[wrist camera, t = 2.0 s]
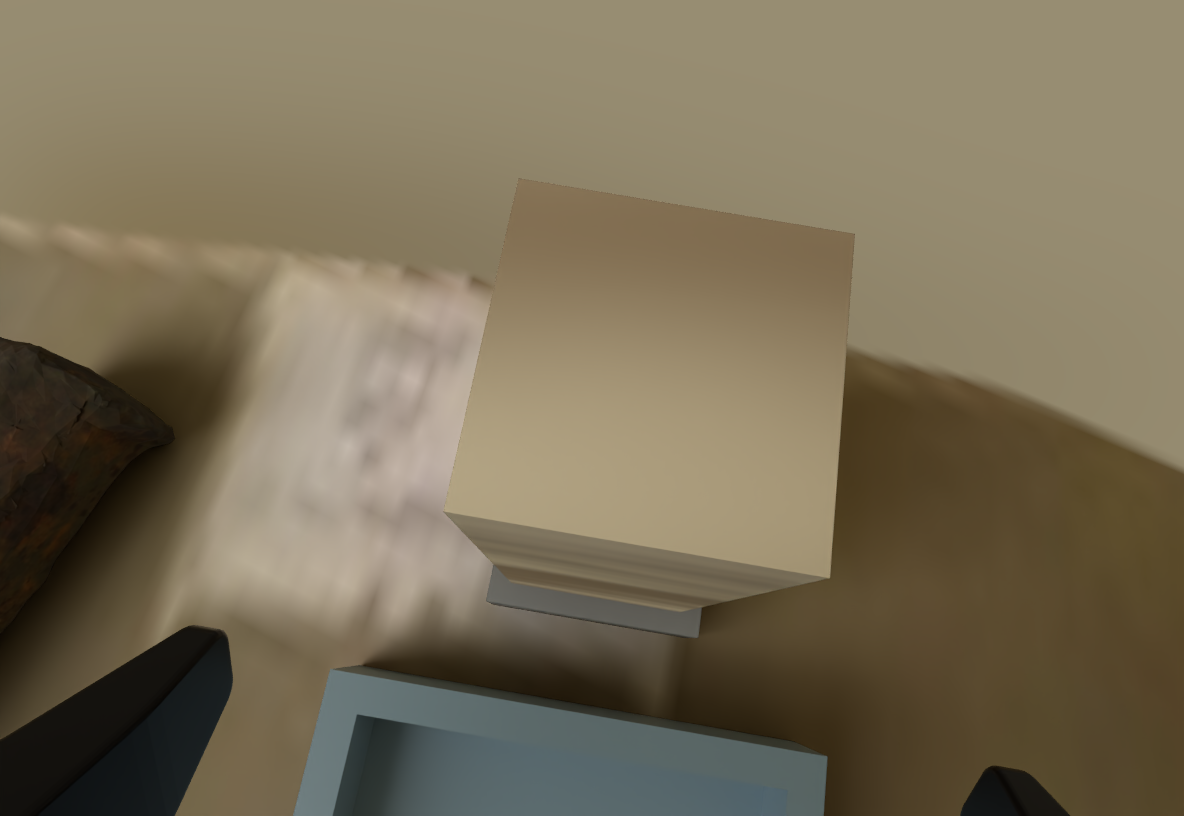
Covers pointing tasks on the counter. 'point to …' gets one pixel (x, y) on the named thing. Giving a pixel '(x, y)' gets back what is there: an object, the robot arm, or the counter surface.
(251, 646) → the counter surface
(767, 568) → the beige pillar on base
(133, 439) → the hand tool
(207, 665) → the robot arm
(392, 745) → the tray
